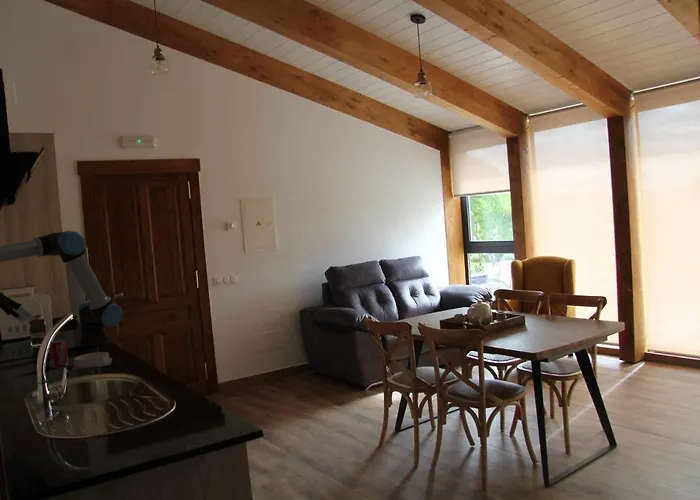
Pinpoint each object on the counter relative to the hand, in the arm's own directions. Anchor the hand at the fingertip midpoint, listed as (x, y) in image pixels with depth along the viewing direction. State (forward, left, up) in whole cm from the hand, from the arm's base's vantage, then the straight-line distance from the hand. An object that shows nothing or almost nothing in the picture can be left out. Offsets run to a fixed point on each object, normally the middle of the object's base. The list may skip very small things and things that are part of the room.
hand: (28, 319), depth 272 cm
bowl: (+5, +25, -23) cm, 34 cm away
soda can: (0, +11, -24) cm, 26 cm away
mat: (+5, +25, -23) cm, 34 cm away
